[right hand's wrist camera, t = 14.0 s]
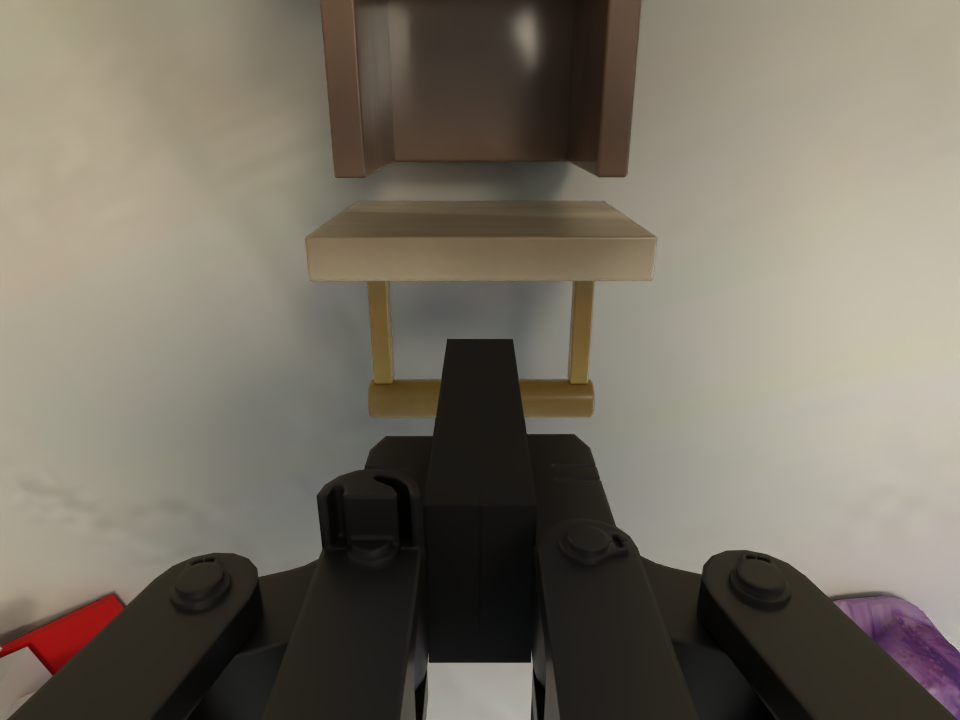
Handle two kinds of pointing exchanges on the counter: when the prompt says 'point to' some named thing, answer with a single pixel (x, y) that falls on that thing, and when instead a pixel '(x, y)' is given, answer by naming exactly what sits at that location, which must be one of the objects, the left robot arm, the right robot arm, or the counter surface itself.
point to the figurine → (910, 644)
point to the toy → (48, 651)
